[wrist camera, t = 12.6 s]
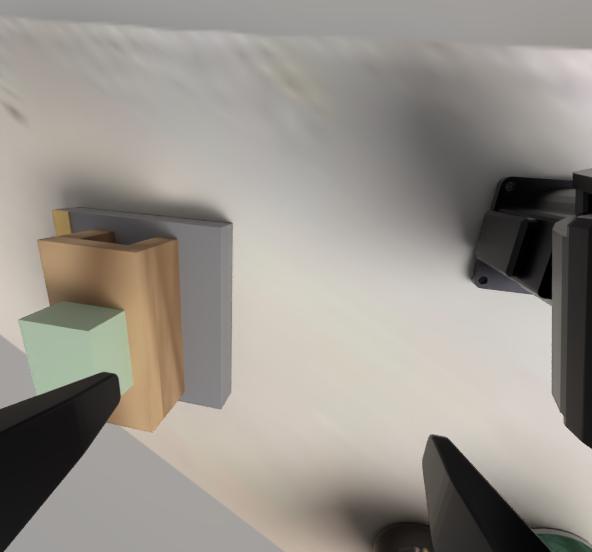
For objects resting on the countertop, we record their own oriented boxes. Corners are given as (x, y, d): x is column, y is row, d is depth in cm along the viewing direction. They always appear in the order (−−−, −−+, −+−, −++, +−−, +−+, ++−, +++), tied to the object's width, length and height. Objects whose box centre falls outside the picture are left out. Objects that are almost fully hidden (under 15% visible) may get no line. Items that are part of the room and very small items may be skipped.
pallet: (177, 239, 19) (136, 252, 16) (184, 391, 23) (152, 432, 19) (95, 229, 20) (37, 239, 16) (115, 378, 24) (71, 414, 20)
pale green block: (124, 310, 17) (88, 331, 15) (133, 384, 18) (101, 414, 16) (62, 300, 17) (18, 319, 15) (76, 373, 19) (37, 400, 17)
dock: (232, 223, 21) (219, 228, 19) (231, 392, 25) (220, 410, 23) (78, 207, 22) (52, 209, 20) (102, 367, 27) (82, 382, 25)
